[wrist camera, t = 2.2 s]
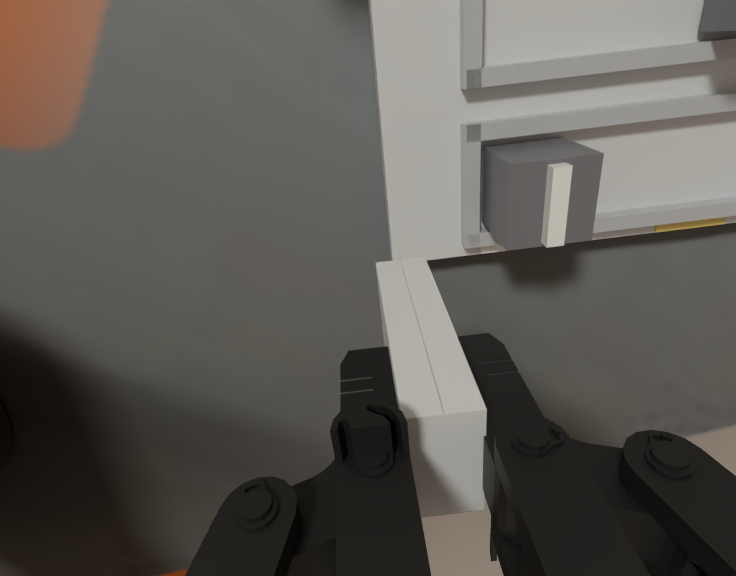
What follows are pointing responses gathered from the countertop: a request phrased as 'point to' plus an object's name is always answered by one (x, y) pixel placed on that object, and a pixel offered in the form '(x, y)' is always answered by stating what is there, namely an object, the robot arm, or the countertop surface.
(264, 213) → the countertop surface
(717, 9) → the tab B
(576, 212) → the tab
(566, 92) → the switch board
